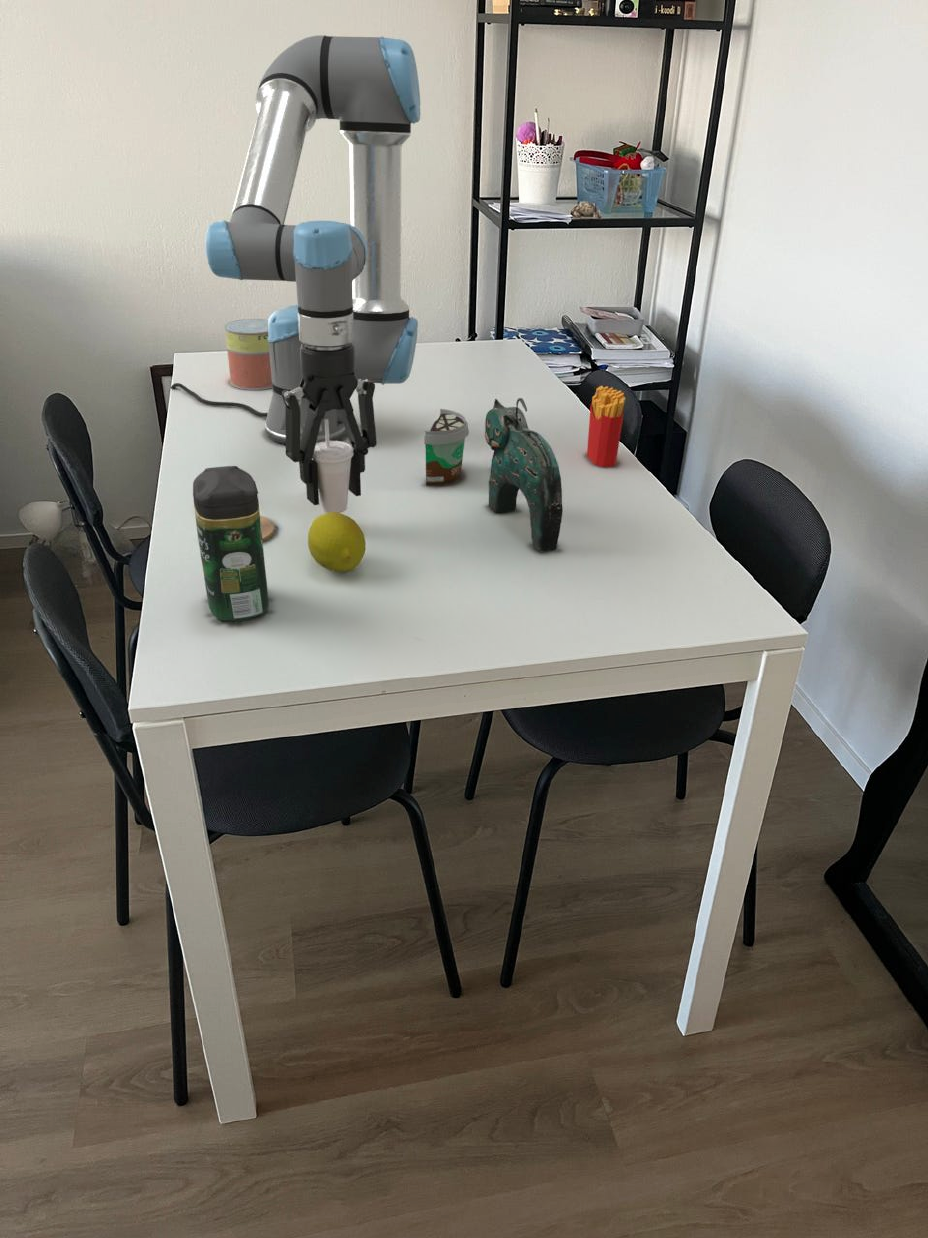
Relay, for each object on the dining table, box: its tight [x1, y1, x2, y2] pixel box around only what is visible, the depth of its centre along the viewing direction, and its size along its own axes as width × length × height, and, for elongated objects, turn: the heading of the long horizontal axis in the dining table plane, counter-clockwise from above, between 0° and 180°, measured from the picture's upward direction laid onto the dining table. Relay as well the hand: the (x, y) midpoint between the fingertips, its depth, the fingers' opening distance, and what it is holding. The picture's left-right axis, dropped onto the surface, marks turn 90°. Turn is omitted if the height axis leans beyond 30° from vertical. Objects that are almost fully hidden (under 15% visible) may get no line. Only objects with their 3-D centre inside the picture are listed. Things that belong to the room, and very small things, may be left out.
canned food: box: [224, 318, 272, 391], centre depth 202 cm, size 11×11×12 cm
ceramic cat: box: [484, 397, 564, 553], centre depth 143 cm, size 20×6×20 cm, turn 23°
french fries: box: [586, 385, 626, 468], centre depth 169 cm, size 9×4×13 cm, turn 15°
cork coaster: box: [260, 515, 276, 543], centre depth 144 cm, size 10×10×1 cm
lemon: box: [307, 512, 367, 573], centre depth 133 cm, size 11×8×8 cm
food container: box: [424, 408, 470, 487], centre depth 161 cm, size 12×6×10 cm, turn 168°
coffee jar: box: [192, 465, 270, 622], centre depth 121 cm, size 10×8×19 cm
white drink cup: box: [312, 419, 354, 514], centre depth 140 cm, size 6×6×14 cm
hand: (334, 496), depth 142 cm, fingers closed on white drink cup, 6 cm apart
